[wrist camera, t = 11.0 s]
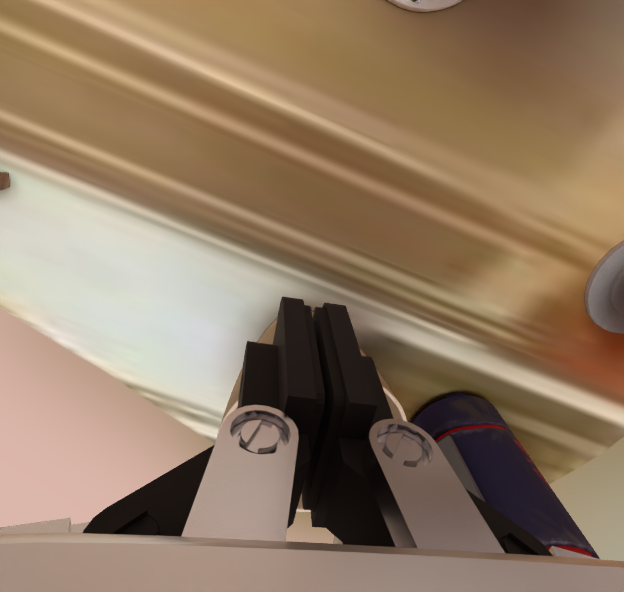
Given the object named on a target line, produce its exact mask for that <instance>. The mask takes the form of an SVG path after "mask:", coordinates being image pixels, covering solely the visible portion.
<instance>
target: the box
mask: <svg viewBox="0 0 624 592" xmlns="http://www.w3.org/2000/svg"><path fill="white" fill-rule="evenodd" d="M8 187H10V183H9V175H8V173H6V172H0V190H3V189H5V188H8Z"/></svg>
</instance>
